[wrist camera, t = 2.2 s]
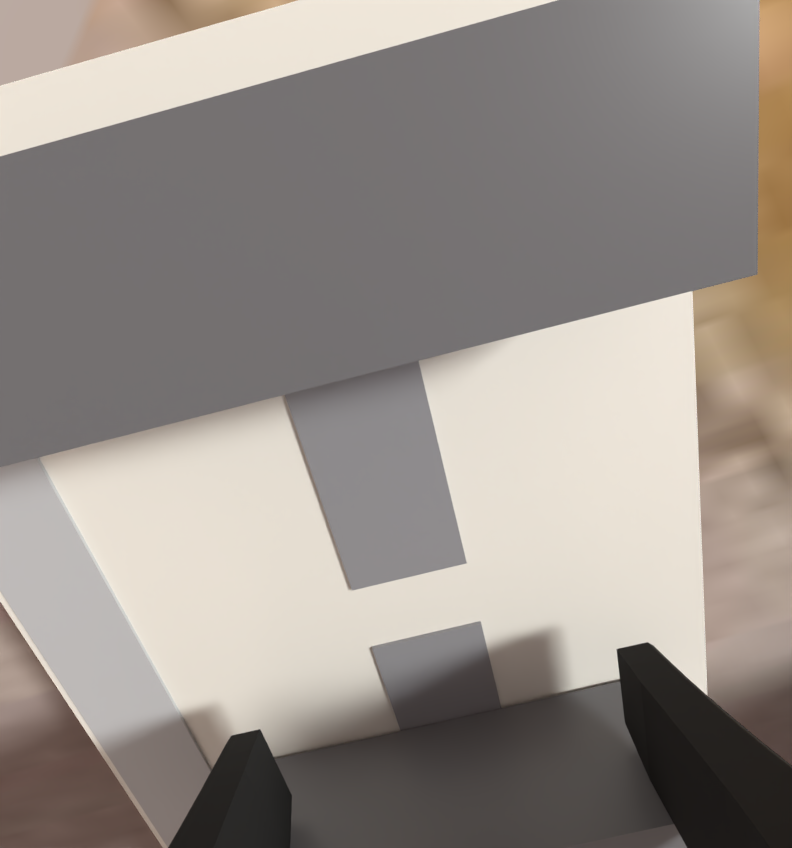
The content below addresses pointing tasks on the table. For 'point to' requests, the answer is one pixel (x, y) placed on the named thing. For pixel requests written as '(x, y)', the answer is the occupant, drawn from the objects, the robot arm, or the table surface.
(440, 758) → the slider middle
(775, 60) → the table surface
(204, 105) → the slider
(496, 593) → the switch panel
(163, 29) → the table surface
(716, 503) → the table surface
